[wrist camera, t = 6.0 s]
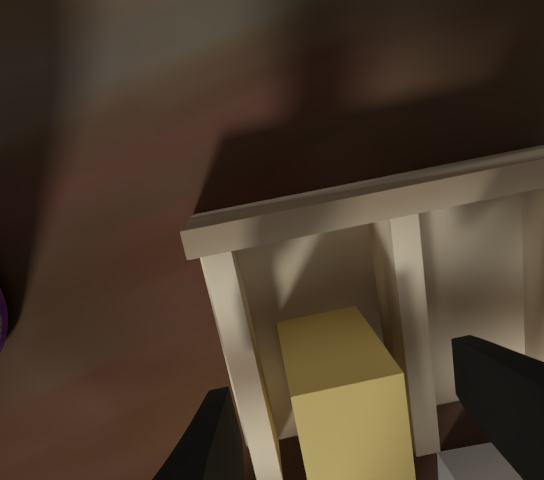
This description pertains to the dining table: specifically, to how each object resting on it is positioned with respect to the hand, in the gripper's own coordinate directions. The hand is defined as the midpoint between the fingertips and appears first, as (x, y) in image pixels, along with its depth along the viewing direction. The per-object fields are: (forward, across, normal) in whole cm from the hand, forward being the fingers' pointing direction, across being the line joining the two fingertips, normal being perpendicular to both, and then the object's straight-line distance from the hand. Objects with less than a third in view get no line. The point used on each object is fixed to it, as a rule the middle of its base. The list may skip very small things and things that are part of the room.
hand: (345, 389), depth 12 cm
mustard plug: (+5, 0, +2) cm, 5 cm away
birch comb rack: (+5, -3, 0) cm, 6 cm away
